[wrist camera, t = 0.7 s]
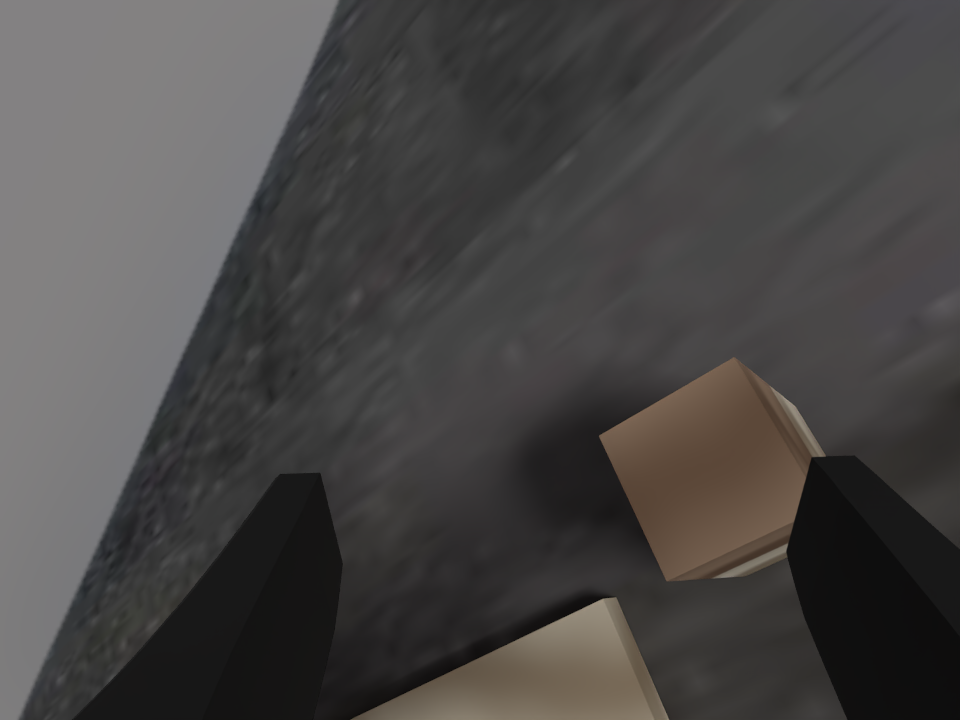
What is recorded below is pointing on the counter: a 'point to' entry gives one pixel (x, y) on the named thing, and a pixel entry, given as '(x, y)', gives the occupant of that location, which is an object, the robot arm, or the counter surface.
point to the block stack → (715, 473)
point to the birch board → (544, 677)
